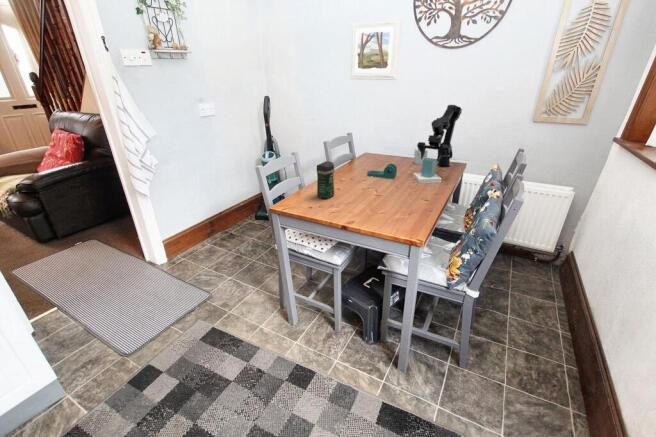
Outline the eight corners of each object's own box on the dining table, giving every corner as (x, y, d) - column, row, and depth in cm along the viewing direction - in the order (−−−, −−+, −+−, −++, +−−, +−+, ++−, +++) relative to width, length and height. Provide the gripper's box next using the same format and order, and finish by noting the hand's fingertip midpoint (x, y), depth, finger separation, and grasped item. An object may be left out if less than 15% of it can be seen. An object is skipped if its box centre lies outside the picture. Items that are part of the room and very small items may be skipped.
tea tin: (424, 173, 187) (427, 157, 183) (434, 175, 184) (436, 159, 179) (420, 175, 183) (423, 159, 179) (430, 177, 179) (432, 161, 175)
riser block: (433, 176, 191) (433, 172, 189) (440, 183, 179) (441, 178, 178) (412, 177, 190) (413, 172, 189) (419, 184, 179) (419, 179, 177)
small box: (424, 162, 218) (426, 148, 214) (426, 164, 213) (428, 149, 209) (413, 162, 219) (414, 148, 215) (414, 164, 214) (416, 149, 210)
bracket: (396, 175, 192) (397, 163, 189) (394, 179, 187) (394, 166, 183) (368, 173, 199) (369, 161, 195) (366, 176, 193) (366, 164, 190)
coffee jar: (327, 200, 158) (326, 165, 150) (315, 197, 161) (313, 163, 153) (336, 194, 165) (336, 161, 157) (324, 192, 169) (323, 159, 161)
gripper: (419, 128, 181) (411, 150, 178) (452, 130, 171) (443, 154, 168) (422, 139, 190) (414, 160, 187) (453, 142, 180) (445, 164, 177)
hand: (429, 159), depth 179 cm, fingers open, 9 cm apart
